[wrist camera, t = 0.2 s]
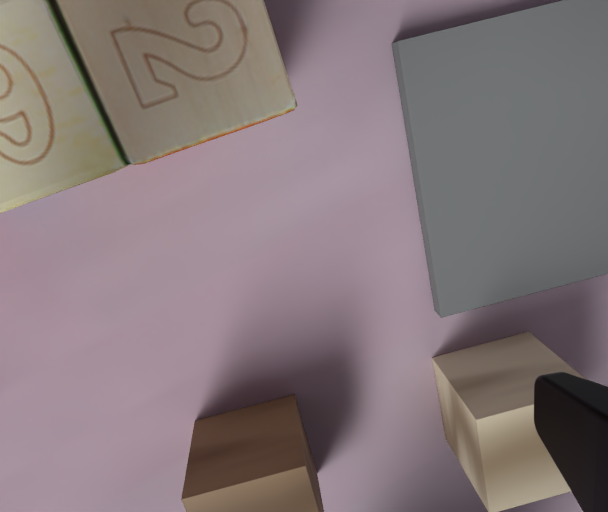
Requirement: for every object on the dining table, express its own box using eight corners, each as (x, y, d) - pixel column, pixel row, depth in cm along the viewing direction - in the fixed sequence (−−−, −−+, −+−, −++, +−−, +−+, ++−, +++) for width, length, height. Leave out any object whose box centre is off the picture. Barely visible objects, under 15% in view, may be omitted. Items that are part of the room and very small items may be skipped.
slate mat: (673, 247, 23) (687, 252, 23) (434, 310, 23) (441, 317, 22) (677, -28, 20) (694, -33, 19) (391, 43, 19) (397, 41, 19)
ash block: (535, 412, 26) (599, 483, 21) (444, 437, 26) (489, 514, 21) (527, 330, 24) (595, 387, 19) (431, 356, 24) (476, 419, 19)
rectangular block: (316, 472, 25) (332, 557, 21) (223, 497, 25) (217, 589, 21) (294, 393, 24) (305, 465, 19) (195, 419, 24) (181, 499, 19)
